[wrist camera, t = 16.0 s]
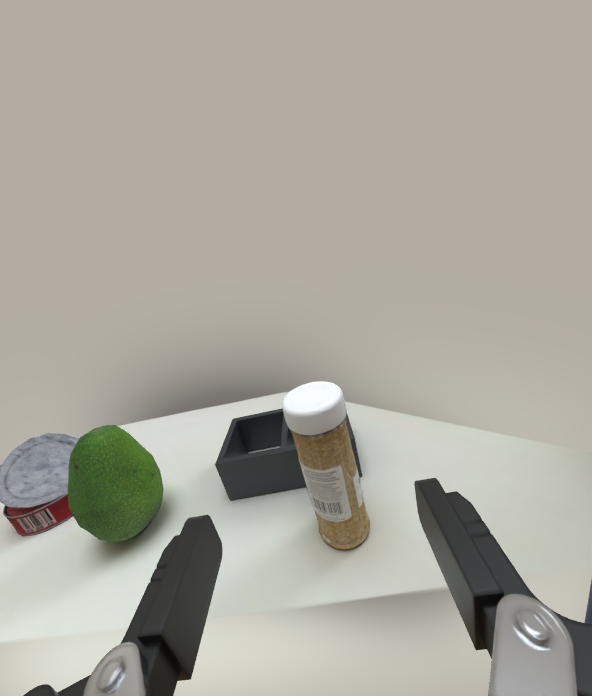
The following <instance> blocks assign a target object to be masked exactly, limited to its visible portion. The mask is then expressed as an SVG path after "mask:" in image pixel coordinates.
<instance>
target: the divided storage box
mask: <svg viewBox="0 0 592 696" xmlns="http://www.w3.org/2000/svg"><path fill="white" fill-rule="evenodd" d="M346 424H347V427H348V433H349V437H350V441H351V446H352V450H353V454H354V457H355V462H356V466H357V469H358V474H359V477H362V473H361V468H360V463H359V458H358V453H357V448H356V443H355V439H354V435H353V432H352V428H351V425H350V422H349V418H348V415H347V412H346ZM279 445H281V447H280V448H277V449H272V450H266V451H261V452H256V453H251V454H247V453H248V452H249V451H254V450H259V449H264V448H269V447H274V446H279ZM215 465H216V468H217V470H218V473H219V475H220V477H221V480H222V482H223V485H224V487H225V489H226V492H227V494H228V497H229V499H230V500H236V499H241V498H247V497H252V496H258V495H263V494H269V493H274V492H280V491H285V490H291V489H296V488H302V487H307V486H306V482H305V479H304V476H303V472H302V469H301V465H300V462H299V458H298V452H297V449H296V445H295V442H294V438H293V435H292V433H291V430H290V429H289V427H288V426H287V423H286V420H285V416H284V412H283V409H278V410H273V411H269V412H264V413H259V414H254V415H249V416H244V417H240V418H235V419H233V420H232V422H231V425H230V427H229V430H228V433H227V435H226V438H225V440H224V443H223V446H222V448H221V451H220V454H219V456H218V459H217V461H216V464H215Z"/></svg>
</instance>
